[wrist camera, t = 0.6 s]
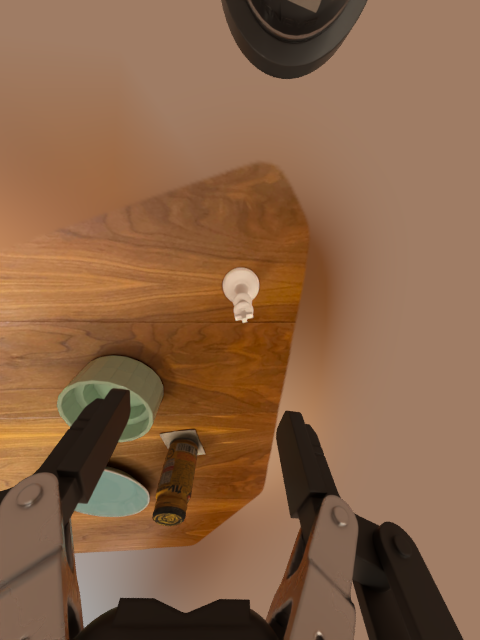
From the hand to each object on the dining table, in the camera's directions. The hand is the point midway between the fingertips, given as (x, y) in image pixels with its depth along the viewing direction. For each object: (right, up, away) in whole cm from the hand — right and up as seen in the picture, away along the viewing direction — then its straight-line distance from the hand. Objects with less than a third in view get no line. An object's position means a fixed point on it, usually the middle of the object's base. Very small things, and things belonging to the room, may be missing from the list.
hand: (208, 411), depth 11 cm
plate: (-30, -34, +40) cm, 60 cm away
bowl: (-18, -6, +25) cm, 32 cm away
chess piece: (+2, +9, +18) cm, 20 cm away
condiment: (-10, -21, +33) cm, 41 cm away
